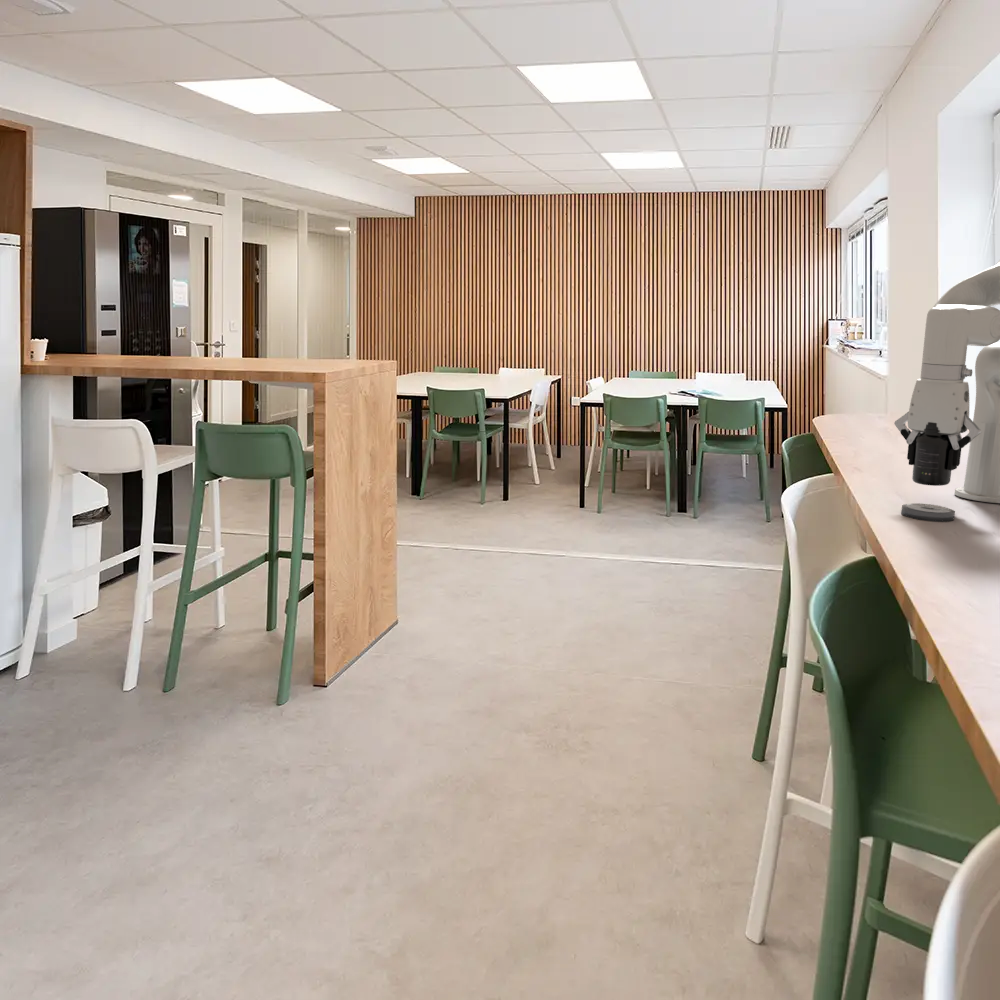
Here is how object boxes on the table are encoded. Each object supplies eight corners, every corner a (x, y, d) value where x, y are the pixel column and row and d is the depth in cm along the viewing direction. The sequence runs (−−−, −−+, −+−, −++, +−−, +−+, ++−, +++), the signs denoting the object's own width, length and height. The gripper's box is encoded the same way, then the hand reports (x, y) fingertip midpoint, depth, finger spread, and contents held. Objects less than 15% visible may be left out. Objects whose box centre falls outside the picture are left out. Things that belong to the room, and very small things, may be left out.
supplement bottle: (918, 477, 201) (924, 417, 198) (954, 482, 196) (961, 420, 194) (906, 482, 195) (912, 421, 193) (943, 487, 191) (950, 424, 188)
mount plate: (912, 509, 192) (913, 500, 192) (961, 517, 186) (962, 509, 186) (893, 514, 186) (894, 506, 185) (943, 523, 180) (944, 515, 179)
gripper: (997, 375, 188) (986, 470, 192) (904, 368, 200) (895, 458, 204) (983, 378, 183) (972, 475, 187) (888, 371, 194) (880, 463, 198)
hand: (932, 465), depth 195 cm, fingers closed on supplement bottle, 6 cm apart
